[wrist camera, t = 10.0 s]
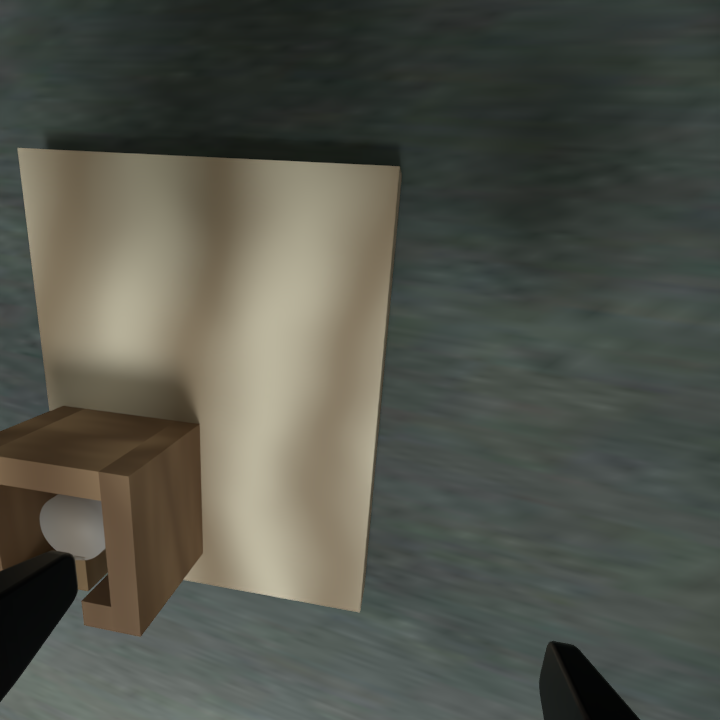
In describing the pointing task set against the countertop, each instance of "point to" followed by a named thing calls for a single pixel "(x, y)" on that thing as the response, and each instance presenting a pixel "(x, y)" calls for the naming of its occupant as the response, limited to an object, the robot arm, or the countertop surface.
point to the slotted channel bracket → (109, 502)
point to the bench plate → (225, 345)
